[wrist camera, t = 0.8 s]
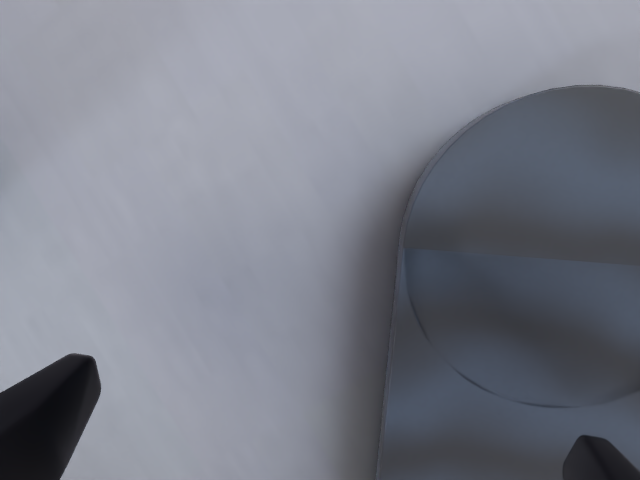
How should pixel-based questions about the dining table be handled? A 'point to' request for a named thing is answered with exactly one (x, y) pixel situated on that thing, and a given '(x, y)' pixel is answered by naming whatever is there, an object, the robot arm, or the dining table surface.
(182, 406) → the dining table surface
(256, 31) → the dining table surface
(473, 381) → the grey kitchen scale
